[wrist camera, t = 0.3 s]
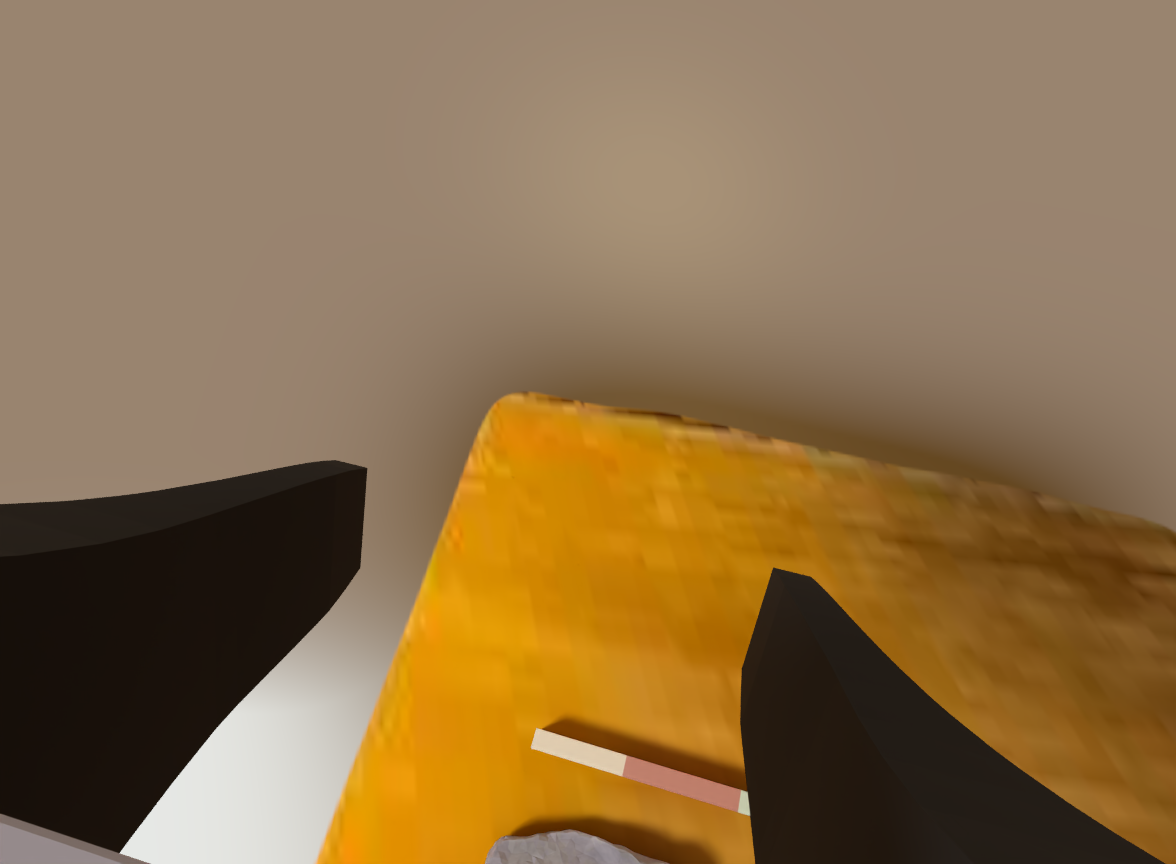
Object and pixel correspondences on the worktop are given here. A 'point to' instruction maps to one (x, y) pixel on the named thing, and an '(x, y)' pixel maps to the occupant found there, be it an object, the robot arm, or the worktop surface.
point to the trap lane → (642, 771)
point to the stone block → (562, 850)
